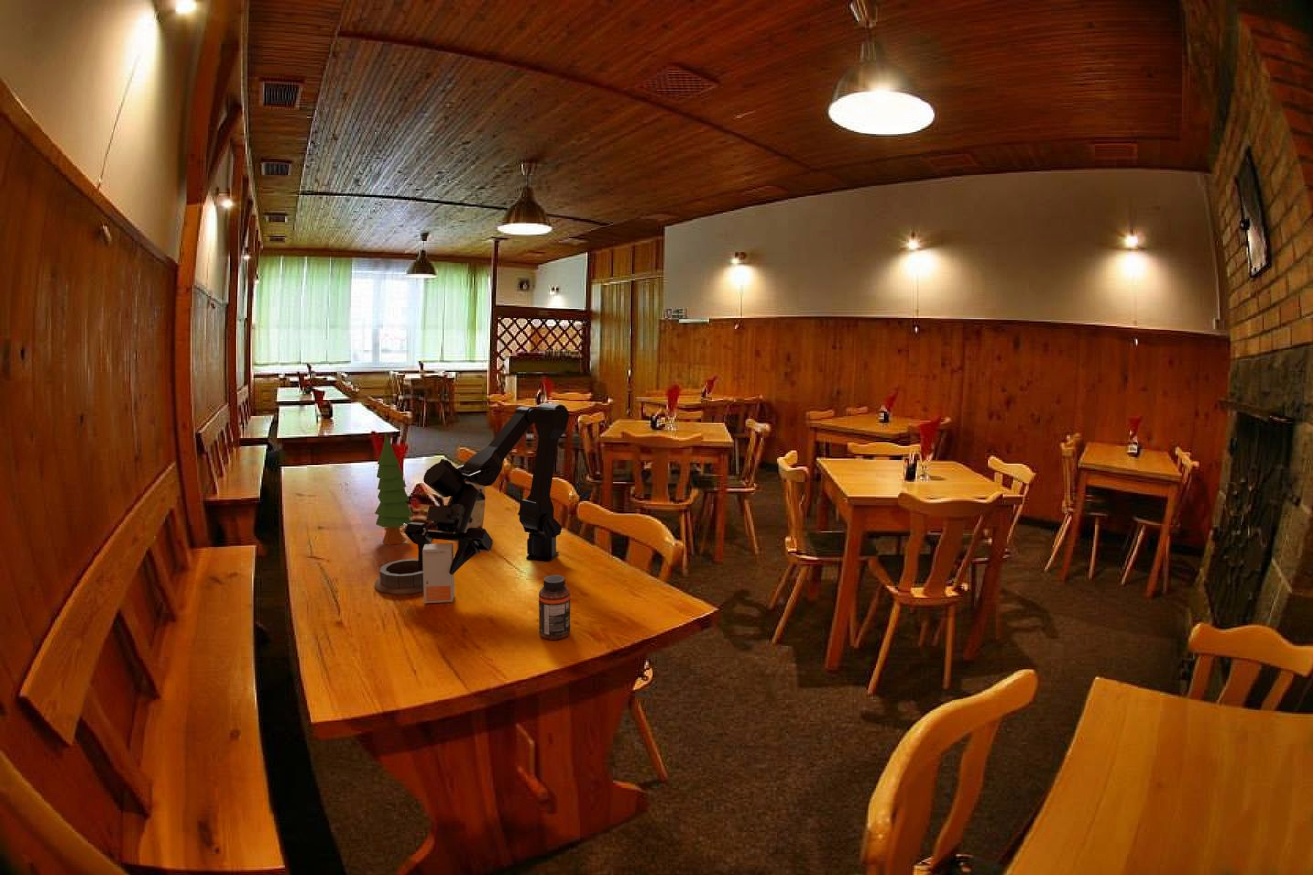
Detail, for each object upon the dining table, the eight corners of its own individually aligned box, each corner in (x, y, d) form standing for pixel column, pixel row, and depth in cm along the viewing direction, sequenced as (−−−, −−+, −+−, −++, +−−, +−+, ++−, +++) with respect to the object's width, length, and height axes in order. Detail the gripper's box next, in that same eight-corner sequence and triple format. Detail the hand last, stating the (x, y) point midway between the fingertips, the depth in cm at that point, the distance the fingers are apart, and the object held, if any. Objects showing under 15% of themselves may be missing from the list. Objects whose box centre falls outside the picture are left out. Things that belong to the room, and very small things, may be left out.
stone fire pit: (451, 575, 164) (451, 560, 163) (418, 597, 150) (417, 580, 150) (398, 569, 167) (398, 554, 166) (361, 590, 154) (360, 574, 153)
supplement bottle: (540, 628, 137) (539, 572, 135) (570, 627, 137) (570, 572, 135) (537, 641, 131) (537, 583, 129) (569, 641, 131) (569, 583, 129)
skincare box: (423, 604, 147) (421, 549, 145) (426, 596, 151) (424, 543, 149) (453, 602, 148) (451, 548, 146) (455, 594, 152) (453, 542, 150)
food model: (462, 538, 193) (461, 467, 190) (448, 533, 197) (446, 464, 194) (491, 530, 200) (490, 462, 197) (476, 526, 204) (475, 459, 201)
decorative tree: (371, 540, 189) (366, 431, 184) (403, 533, 196) (399, 428, 192) (389, 548, 183) (384, 435, 178) (421, 540, 190) (418, 432, 185)
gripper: (406, 486, 152) (378, 550, 143) (485, 492, 147) (460, 559, 139) (428, 512, 160) (402, 574, 152) (502, 518, 156) (480, 582, 147)
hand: (435, 572), depth 147 cm, fingers closed on skincare box, 7 cm apart
